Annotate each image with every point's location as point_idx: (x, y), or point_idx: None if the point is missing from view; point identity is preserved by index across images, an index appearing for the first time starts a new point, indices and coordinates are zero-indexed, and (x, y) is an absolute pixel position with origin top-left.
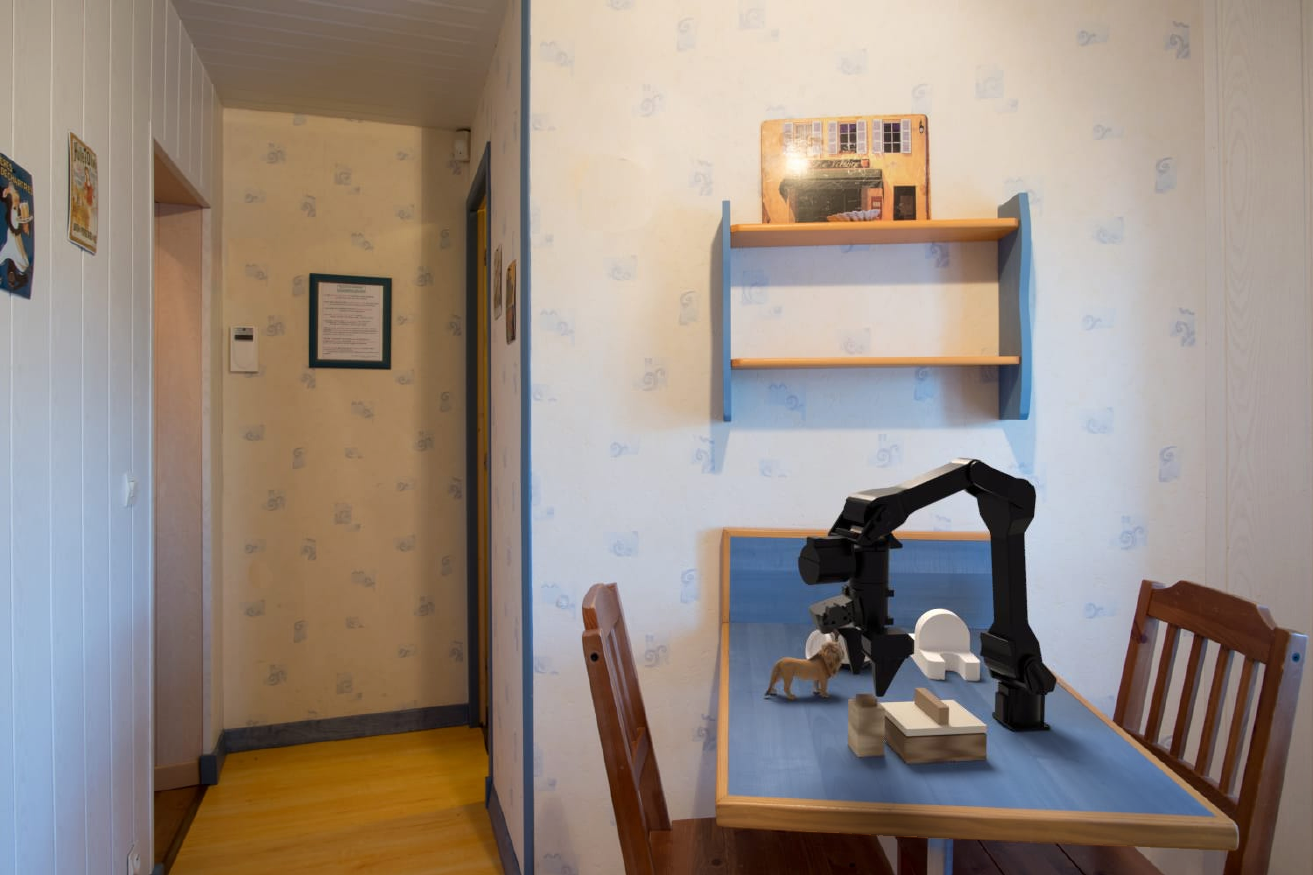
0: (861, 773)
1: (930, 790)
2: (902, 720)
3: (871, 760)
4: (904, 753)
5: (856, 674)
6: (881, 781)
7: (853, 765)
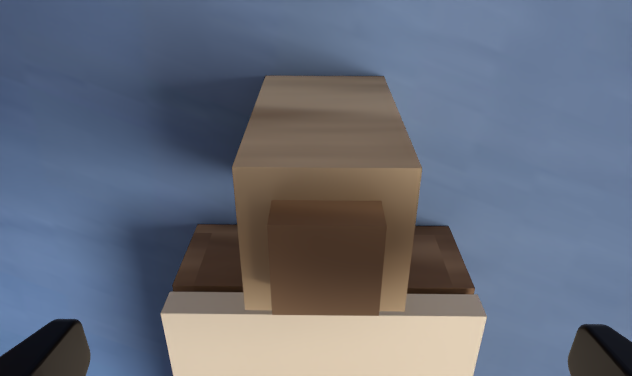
0: (107, 33)
1: (4, 220)
2: (259, 330)
3: (228, 118)
4: (206, 242)
5: (573, 343)
6: (45, 87)
7: (181, 26)
